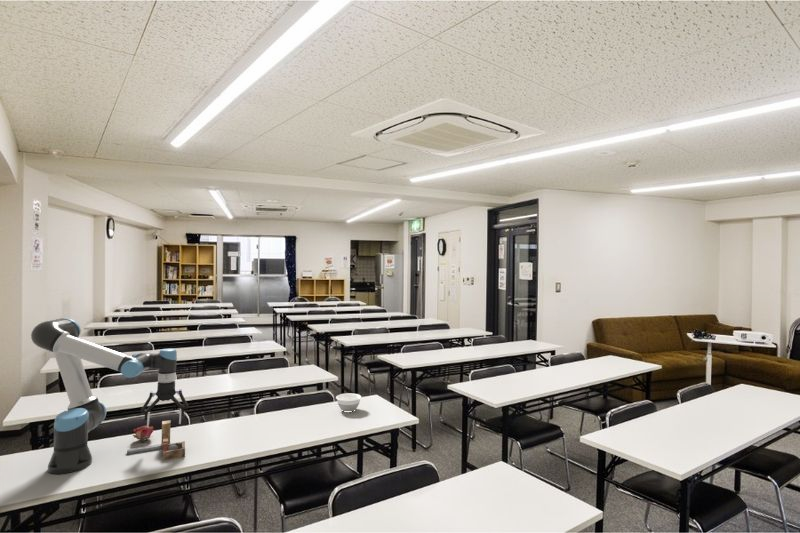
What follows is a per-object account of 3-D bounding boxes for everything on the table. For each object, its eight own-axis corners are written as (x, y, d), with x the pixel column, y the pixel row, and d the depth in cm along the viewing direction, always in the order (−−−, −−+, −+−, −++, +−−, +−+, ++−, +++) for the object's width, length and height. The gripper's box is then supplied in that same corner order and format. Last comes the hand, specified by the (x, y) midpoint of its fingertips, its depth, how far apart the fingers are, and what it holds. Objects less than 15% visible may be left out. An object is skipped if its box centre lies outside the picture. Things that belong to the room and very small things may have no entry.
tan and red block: (160, 456, 190) (161, 431, 191) (161, 445, 203) (162, 421, 203) (169, 455, 192) (170, 429, 192) (170, 443, 205) (170, 420, 205)
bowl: (332, 413, 253) (332, 399, 253) (340, 405, 269) (340, 392, 269) (357, 415, 251) (357, 401, 251) (364, 407, 266) (364, 394, 266)
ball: (178, 454, 193) (168, 457, 191) (178, 450, 197) (168, 454, 195) (177, 445, 193) (166, 448, 191) (177, 441, 197) (166, 444, 195)
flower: (156, 438, 208) (157, 422, 212) (136, 440, 201) (136, 423, 205) (148, 445, 212) (149, 430, 216) (128, 447, 206) (129, 431, 210)
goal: (163, 460, 188) (163, 452, 188) (163, 452, 197) (163, 444, 197) (184, 456, 192) (185, 448, 192) (184, 448, 201) (184, 441, 201)
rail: (126, 454, 193) (126, 451, 193) (127, 452, 195) (127, 449, 195) (170, 447, 202) (170, 444, 202) (170, 445, 204) (171, 442, 204)
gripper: (135, 385, 193) (133, 431, 193) (195, 380, 205) (192, 424, 204) (137, 381, 200) (134, 425, 199) (194, 377, 211) (192, 419, 211)
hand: (164, 424), depth 202 cm, fingers open, 13 cm apart
